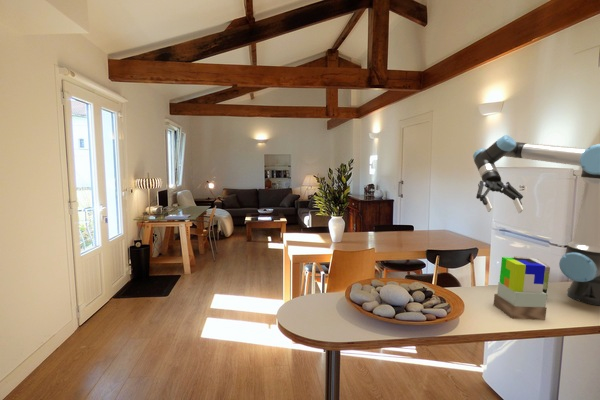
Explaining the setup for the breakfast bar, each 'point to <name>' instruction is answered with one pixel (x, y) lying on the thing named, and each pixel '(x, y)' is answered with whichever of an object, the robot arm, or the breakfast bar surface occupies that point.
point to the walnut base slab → (519, 310)
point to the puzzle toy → (522, 275)
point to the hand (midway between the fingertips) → (505, 210)
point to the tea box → (546, 275)
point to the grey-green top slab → (522, 297)
